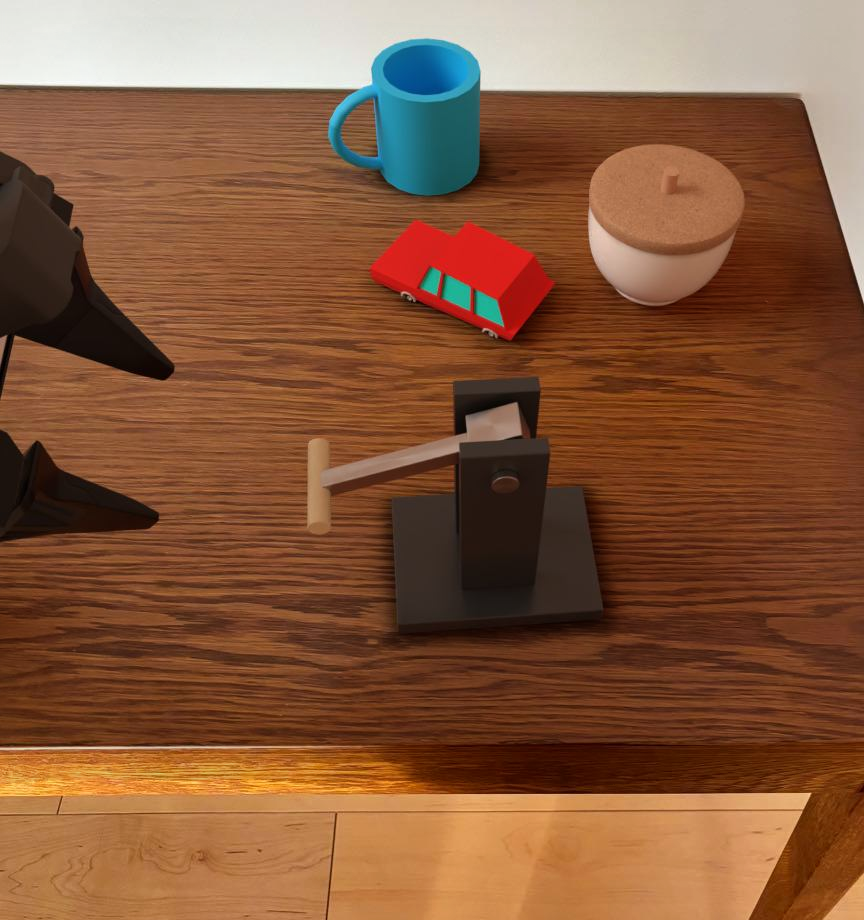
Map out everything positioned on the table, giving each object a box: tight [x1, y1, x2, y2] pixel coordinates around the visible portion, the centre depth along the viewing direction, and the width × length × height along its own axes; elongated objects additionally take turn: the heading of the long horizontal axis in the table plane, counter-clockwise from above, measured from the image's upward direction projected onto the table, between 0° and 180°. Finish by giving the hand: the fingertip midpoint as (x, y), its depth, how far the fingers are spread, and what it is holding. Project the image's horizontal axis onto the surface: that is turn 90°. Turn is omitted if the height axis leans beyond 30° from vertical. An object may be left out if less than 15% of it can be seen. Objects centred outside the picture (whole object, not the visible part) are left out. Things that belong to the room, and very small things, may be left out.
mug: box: [327, 37, 481, 197], centre depth 79 cm, size 12×8×8 cm
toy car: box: [369, 219, 556, 342], centre depth 73 cm, size 6×12×4 cm, turn 61°
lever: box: [306, 402, 531, 536], centre depth 53 cm, size 12×6×2 cm, turn 96°
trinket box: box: [587, 143, 746, 307], centre depth 72 cm, size 11×11×9 cm
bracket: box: [390, 376, 604, 635], centre depth 56 cm, size 12×9×14 cm
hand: (163, 444), depth 49 cm, fingers open, 9 cm apart
